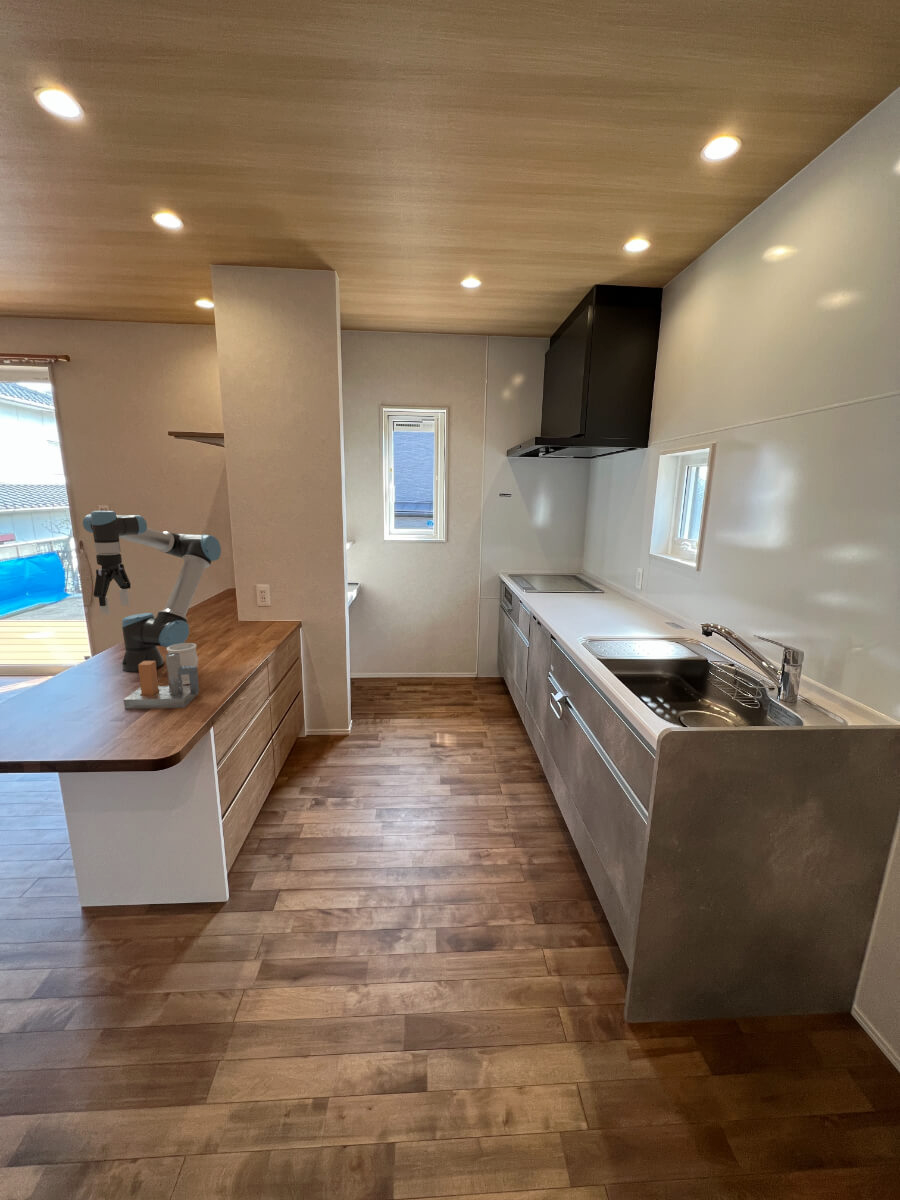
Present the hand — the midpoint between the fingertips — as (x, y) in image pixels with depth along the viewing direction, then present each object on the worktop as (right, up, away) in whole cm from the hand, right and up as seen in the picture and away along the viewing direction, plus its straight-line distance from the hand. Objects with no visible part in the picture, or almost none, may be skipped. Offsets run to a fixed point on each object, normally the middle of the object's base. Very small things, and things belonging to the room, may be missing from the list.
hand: (115, 609), depth 179 cm
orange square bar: (+16, -34, -4) cm, 37 cm away
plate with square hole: (+21, -34, -3) cm, 40 cm away
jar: (+18, -30, +15) cm, 38 cm away
